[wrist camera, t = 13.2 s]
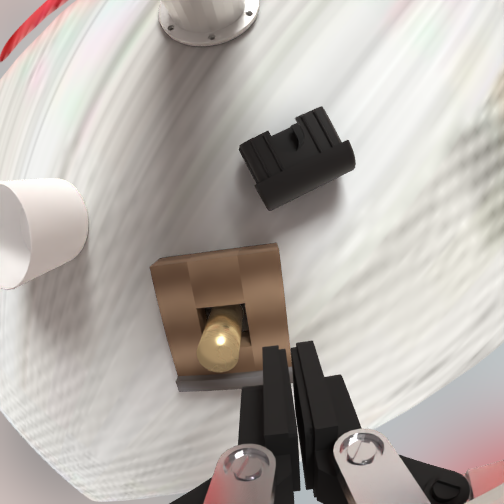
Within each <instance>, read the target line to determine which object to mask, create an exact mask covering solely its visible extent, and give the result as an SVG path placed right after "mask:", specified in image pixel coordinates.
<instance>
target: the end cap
mask: <svg viewBox="0 0 504 504" xmlns="http://www.w3.org/2000/svg"><path fill="white" fill-rule="evenodd" d="M295 119H296V121H297V123H296V124H294V125H292V126H291V127H290V128H288V129H286V130H284V131H281V132H279V133H277V134H275V135H273V136H271V135H270V133H269V131H266V132H264V133H262V134H260V135H258V136H256V137H254V138H252V139H250V140H248V141H246V142H244V143H242V144H241V145H240V148H239V151H240V153H241V155H242V157H243V159H244V161H245V162H246V164H247V166H248V168H249V170H250V172H251V174H252V176H253V177H254V179H255V181H256V183H257V184H256V185H255V187H256V189H257V191H258V193H259V195H260V197H261V199H262V200H263V202H264V204H265V206H266V208H267V209H268V210H269V211H271V210H273V209H275V208H277V207H279V206H281V205H283V204H285V203H287V202H289V201H291V200H293V199H295V198H297V197H299V196H301V195H303V194H305V193H307V192H309V191H311V190H313V189H315V188H317V187H319V186H321V185H323V184H325V183H327V182H329V181H331V180H333V179H336V178H338V177H340V176H342V175H344V174H346V173H348V172H350V171H352V170H354V168H355V164H356V163H355V156H354V152H353V149H352V147H351V144H350V142H349V140H347V141H344V142H341V140H340V138H339V136H338V134H337V132H336V130H335V128H334V127H333V125H332V123H331V121H330V119H329V117H328V115H327V114H326V112H325V110H324V109H323V107H319V108H316V109H314V110H312V111H309V112H307V113H305V114H303V115H300V116H298V117H296V118H295Z"/></svg>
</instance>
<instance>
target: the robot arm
mask: <svg viewBox="0 0 504 504" xmlns="http://www.w3.org/2000/svg"><path fill="white" fill-rule="evenodd" d="M258 10H259V0H161V3H160V6H159V13H158V16H159V22H160V24H161V26H162V28H163V29H164V31H165V32H166V33H167V34H168V35H169V36H170V37H171V38H172V39H174V40H176V41H178V42H180V43H183V44H186V45H191V46H211V45H217V44H221V43H224V42H227V41H229V40H232V39H234V38H236V37H237V36H239V35H240V34H242V33H243V32H245V31H246V30H247V29H248V28H249V27H250V26H251V24H252V23H253V22H254V21H255V19H256V16H257V14H258ZM211 39H213V40H211ZM262 358H263V385H256V386H244V387H242V393H241V408H240V423H239V437H238V446H234V447H232V448H230V449H228V450H227V451H225V452H224V453H223V454H222V455H221V457H220V458H219V460H218V462H217V465H216V468H215V471H214V474H213V477H212V478H210V479H209V480H207V481H206V482H204V483H203V484H201V485H199V486H198V487H196V488H195V489H193V490H191V491H190V492H188V493H187V494H185V495H183V496H182V497H180V498H178V499H176V500H175V501H173V502H171V503H170V504H294V493H293V491H300V469H299V449H298V434H299V441H300V448H301V455H302V463H303V470H304V478H305V485H306V490H309V489H313V493H314V497H317V501H319V502H321V503H323V504H504V460H501V461H498V462H495V463H492V464H488V465H485V466H481V467H477V468H473V469H469V470H468V471H467V472H466V473H464V474H459V473H457V472H455V471H451V470H447V469H444V468H440V467H437V466H433V465H430V464H426V463H423V462H420V461H417V460H414V459H410V458H407V457H404V456H401V455H398V454H397V452H396V451H395V449H394V448H393V446H392V445H391V443H390V442H389V440H388V439H387V438H386V437H385V436H384V435H383V434H382V433H380V432H378V431H375V430H372V429H362V428H361V426H360V423H359V420H358V417H357V415H356V412H355V409H354V407H353V404H352V401H351V399H350V396H349V393H348V391H347V388H346V385H345V383H344V380H343V378H342V376H341V375H334V376H328V377H324V375H323V372H322V369H321V365H320V362H319V359H318V355H317V352H316V349H315V346H314V343H313V341H307V342H299V343H296V347H294V348H291V361H292V374H293V387H294V400H295V410H294V403H293V396H292V389H291V383H290V376H289V369H288V362H287V356H286V349H279V345H275V346H266V347H262ZM295 412H296V417H295ZM296 420H297V425H296ZM297 427H298V434H297Z"/></svg>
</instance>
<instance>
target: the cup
mask: <svg viewBox="0 0 504 504" xmlns="http://www.w3.org/2000/svg"><path fill="white" fill-rule="evenodd" d="M88 223H89V221H88V212H87V209H86V205H85V202H84V200H83V198H82V196H81V194H80V193H79V191H78V190H77V189H76V188H75V187H74V186H73V185H72V184H71V183H69V182H67V181H65V180H63V179H58V178H47V179H27V180H12V181H0V288H1V289H6V290H10V289H15V288H17V287H19V286H21V285H23V284H25V283H27V282H29V281H30V280H32V279H34V278H36V277H38V276H40V275H42V274H44V273H46V272H48V271H50V270H53V269H55V268H57V267H59V266H61V265H63V264H65V263H67V262H69V261H71V260H72V259H74V258H75V257H76V256H77V255H78V254H79V253H80V251H81V250H82V248H83V247H84V244H85V242H86V239H87V234H88Z"/></svg>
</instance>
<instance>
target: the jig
mask: <svg viewBox="0 0 504 504" xmlns="http://www.w3.org/2000/svg"><path fill="white" fill-rule="evenodd" d="M150 271H151V275H152V280H153V284H154V289H155V293H156V297H157V301H158V305H159V309H160V313H161V317H162V321H163V325H164V329H165V333H166V336H167V340H168V344H169V347H170V351H171V354H172V358H173V361H174V364H175V368H176V371H177V374H178V378H177V380H176V383H177V387H178V390H179V392H187V391H212V390H228V389H242V387H244V386H256V385H263V358H262V347H266V346H275V345H279V349H286V356H287V362H288V369H289V376H290V383H293V374H292V362H291V352H290V343H289V333H288V324H287V314H286V305H285V297H284V288H283V279H282V271H281V262H280V254H279V248H278V245H277V243H270V244H263V245H255V246H248V247H240V248H233V249H225V250H218V251H210V252H203V253H195V254H188V255H181V256H173V257H166V258H160V259H159V260H158V261H156V262H155V263H154V264H153V265H151V266H150ZM242 303H245V308H246V314H247V320H248V326H249V331H245V332H241V341H240V350H239V358H238V362H237V364H236V365H235V366H234V367H233V368H232V369H231V370H229V371H226V372H213V371H210V370H208V369H206V368H205V367H203V366H202V365H201V364H200V362H199V360H198V358H197V348H198V345H199V342H200V340H201V337H202V334H203V331H204V329H205V326H206V323H207V316H206V311H205V308H206V307H215V306H224V305H233V304H242Z"/></svg>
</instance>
